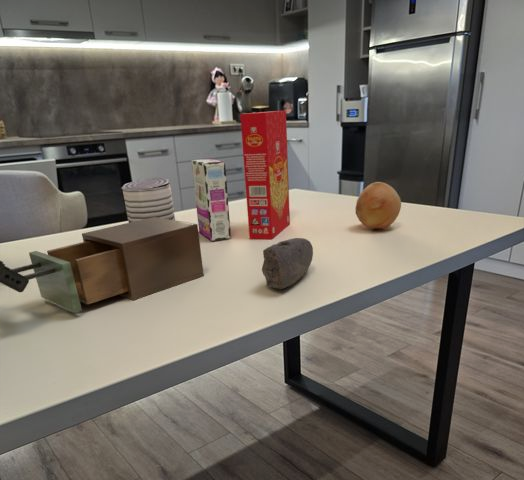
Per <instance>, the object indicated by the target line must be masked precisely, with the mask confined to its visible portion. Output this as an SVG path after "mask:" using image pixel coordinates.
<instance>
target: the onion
mask: <svg viewBox="0 0 524 480" xmlns="http://www.w3.org/2000/svg"><path fill="white" fill-rule="evenodd" d="M401 209H402V200H401V197H400V195H399V194H398V192H397V191H396V190H395V188H394V187H392V185H390V184H387V183H385V182H382V181H375V182H372V183H370V184H369V185H367V186H366V187H365V188H364V189H362V191H361V192H360V194H359V196H358V198H357V200H356V204H355V215H356V217H357V219H358V221H359V222H360V223H361V224H362V225H363V226H364V227H366V228H368V229H387V228H388V227H390V226H391V225H392V224H393V223H394V222H395V221H396V220H397V218H398V217H399V215H400V212H401Z"/></svg>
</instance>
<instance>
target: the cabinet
mask: <svg viewBox="0 0 524 480" xmlns="http://www.w3.org/2000/svg"><path fill="white" fill-rule="evenodd" d="M81 237H82V242H86V241H90V240H92V241H96V242H100V243H103V244H107V245H111V246H115V247H119V248H120V250H121V255H122V260H123V265H124V270H125V275H126V280H127V285H128V290H129V291H127V292H124V293H121V294H118V295H117V296H120V297H122V298H125V299H128V300H131V301H135V300H138V299H141V298H144V297H147V296H150V295H153V294H156V293H158V292H161V291H165V290H167V289H170V288H173V287H176V286H179V285H182V284H184V283H187V282H190V281H192V280H196V279H200V278H202V277H204V276H205V275H204V268H203V267H204V266H203V259H202V258H203V257H202V251H201V250H202V249H201V241H200V232H199V225H198V223H193V222H186V221H181V220H176V219H175V220H169V219H163V218H157V217H152V218H148V219H143V220H139V221H135V222H130V223H129V222H126V223H122V224H118V225H114V226H109V227H104V228H100V229H96V230H92V231H91V230H90V231H87V232H83V233H81Z"/></svg>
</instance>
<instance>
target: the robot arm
mask: <svg viewBox="0 0 524 480" xmlns="http://www.w3.org/2000/svg"><path fill="white" fill-rule="evenodd" d="M29 281H30V280H28V278H26V277H24V275H23V274H21V273H20V272H19V273H17V272H15V271H13V270H11V268H10V267H8V266H6V264H5V262H4V261H3V260H0V284H2V285H4V286H5V287H8V288H9V289H11V290H13V291H16V292H18V293H24V291H25V289H26V288H27V286H28V285H29Z"/></svg>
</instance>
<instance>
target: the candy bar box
mask: <svg viewBox="0 0 524 480" xmlns="http://www.w3.org/2000/svg"><path fill="white" fill-rule="evenodd" d="M190 162H191V169H192V170H191V171H192V178H193V188H194V189H193V190H194V197H195V206H196V207H195V208H196V215H197V217H196V218H197V225H198V233H199V234H201V235H202V236H204V237H205V238H207V239H208V240H210V241H211V242H218V241H225V240H230V239H232V231H231V221H230V208H229V194H228V181H227V171H226V169H227V168H226V161H224V160H219V159H218V160H217V159H212V158H205V159H204V158H203V159H193V160H190Z"/></svg>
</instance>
